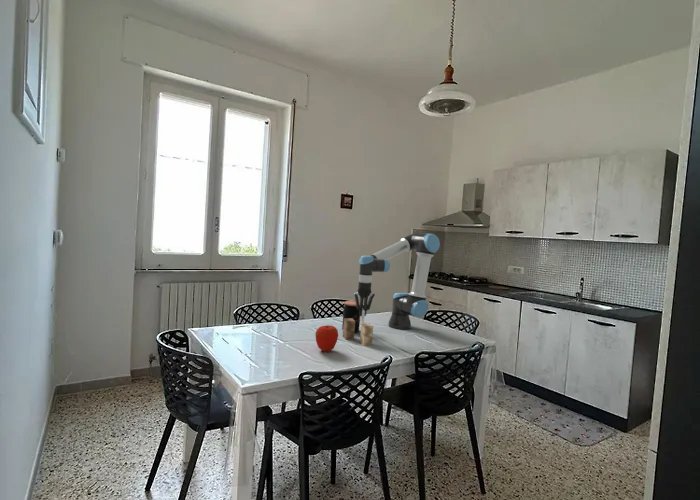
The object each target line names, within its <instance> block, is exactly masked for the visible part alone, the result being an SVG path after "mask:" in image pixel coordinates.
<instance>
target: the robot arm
mask: <svg viewBox="0 0 700 500" xmlns="http://www.w3.org/2000/svg"><path fill="white" fill-rule="evenodd" d="M440 246H441V243H440V239H439V237H438V236H437V235H436V234H434V233H429V232H428V233H427V232H414V233H411V234H408V235H406V236H404V237H402V238H400V239H399V241H397V242H395V243H393V244H391V245H389V246H387V247H385V248H383V249H381V250H379V251H377V252H374V253H373V254H370V255H362V256H360V258H359V260H358V261H359V262H358V264H359V272H358V273H359V275H358V281H359V282H358V285H357V287H358V289H357V291H356V292H354V293H353V297H354V301H355V302H356V308H357V309H358V310H359V315H360V323H365V317H366V316H367V312H368V311H369V310H370V309H371V306H372V302H373V299H374V297H375V293H373V292H372V282H373V281H372V280H373V273H381V272H382V273H387V272H389V270H391V263H390V261H389V260H391V259H392V258H394V257H397V256H398V255H400V254H403V253H404V252H407V253H408V252H409V251H410V252H411V251H415V254H416V255H417V258H416V264H415V269H414V274H413V279H412V285H411V290H410V292H395V293H394V294H393V298H392V309H391V316H390V318H389V320H388V326H389V328H392V329H396V330H409V329H411V328H412V323H411V319H410V316H412V317H414V318H415V317H416V318H422V317H424V316H425V315H426V314H427V312H428V310H429V303H428V302H427V296H426V294H425V293H426V287H427V282H428V276H429V271H430V265H431V260H432V258H433V257H434V256H435V253H437V252H438V251H439V249H440ZM358 296H359V297H358ZM359 302H360V307H359Z"/></svg>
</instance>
